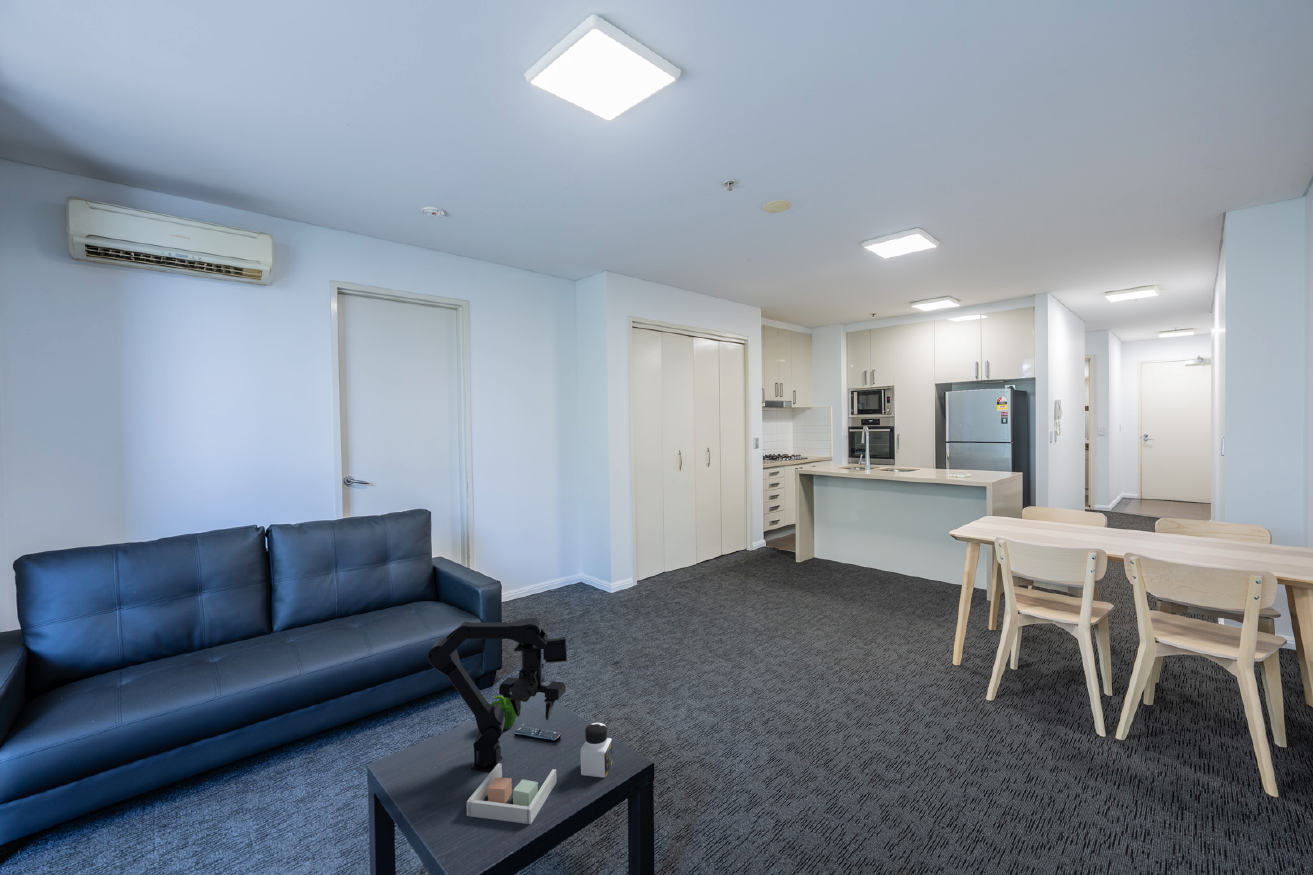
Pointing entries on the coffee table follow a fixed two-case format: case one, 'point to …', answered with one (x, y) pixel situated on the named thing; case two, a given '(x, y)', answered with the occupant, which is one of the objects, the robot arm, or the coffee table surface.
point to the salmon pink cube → (500, 790)
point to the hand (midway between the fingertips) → (532, 717)
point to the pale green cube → (525, 792)
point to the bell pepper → (506, 711)
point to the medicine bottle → (596, 751)
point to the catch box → (507, 811)
